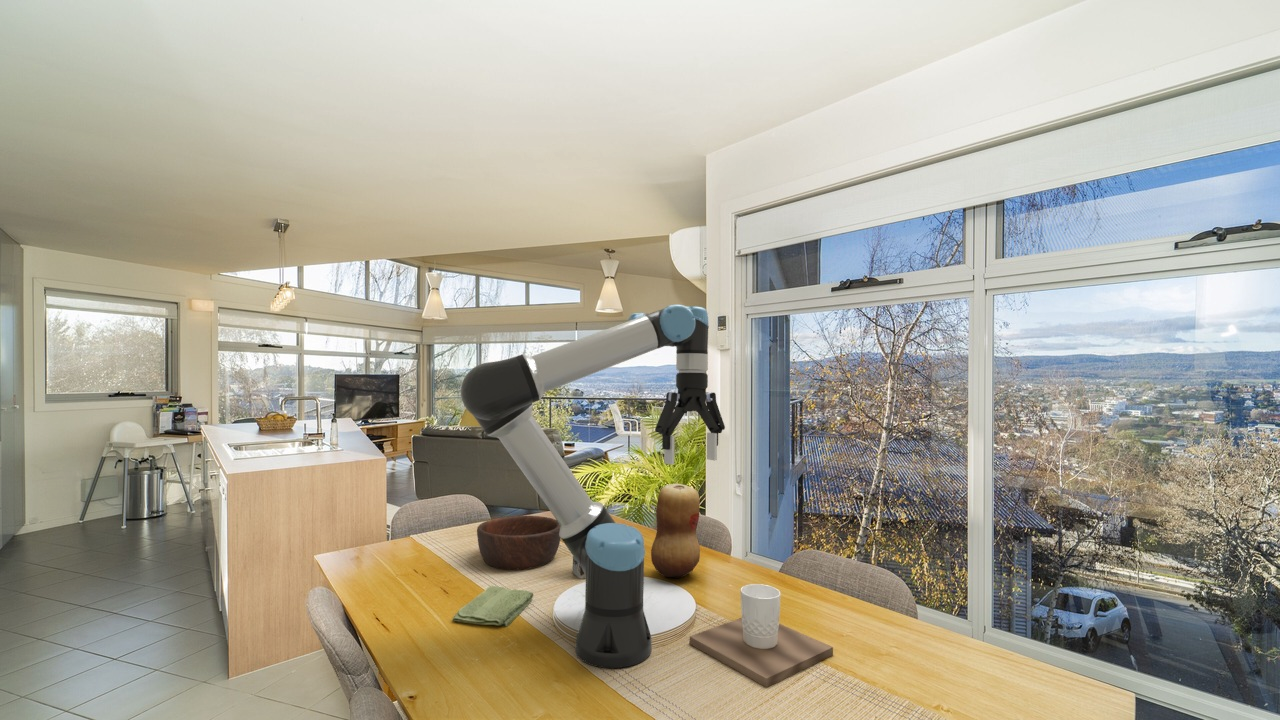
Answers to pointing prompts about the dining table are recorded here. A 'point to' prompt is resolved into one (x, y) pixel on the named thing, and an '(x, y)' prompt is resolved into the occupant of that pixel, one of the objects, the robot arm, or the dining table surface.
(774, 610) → the white cup
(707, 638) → the walnut board
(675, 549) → the butternut squash
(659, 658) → the dining table surface
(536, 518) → the wooden bowl
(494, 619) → the washcloth
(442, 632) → the dining table surface
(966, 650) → the dining table surface
